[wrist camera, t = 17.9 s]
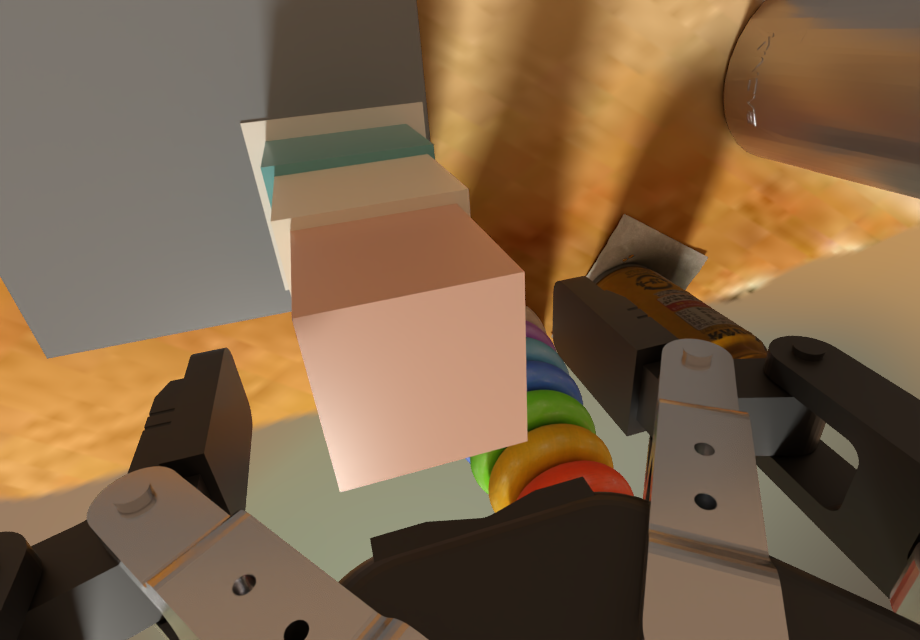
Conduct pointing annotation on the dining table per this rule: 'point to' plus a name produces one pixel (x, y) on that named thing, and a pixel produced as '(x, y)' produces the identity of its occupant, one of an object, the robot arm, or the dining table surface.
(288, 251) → the cream brick
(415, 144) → the teal base brick
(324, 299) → the pink cube
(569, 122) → the dining table surface
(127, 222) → the baseplate
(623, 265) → the condiment
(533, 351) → the stacking toy
